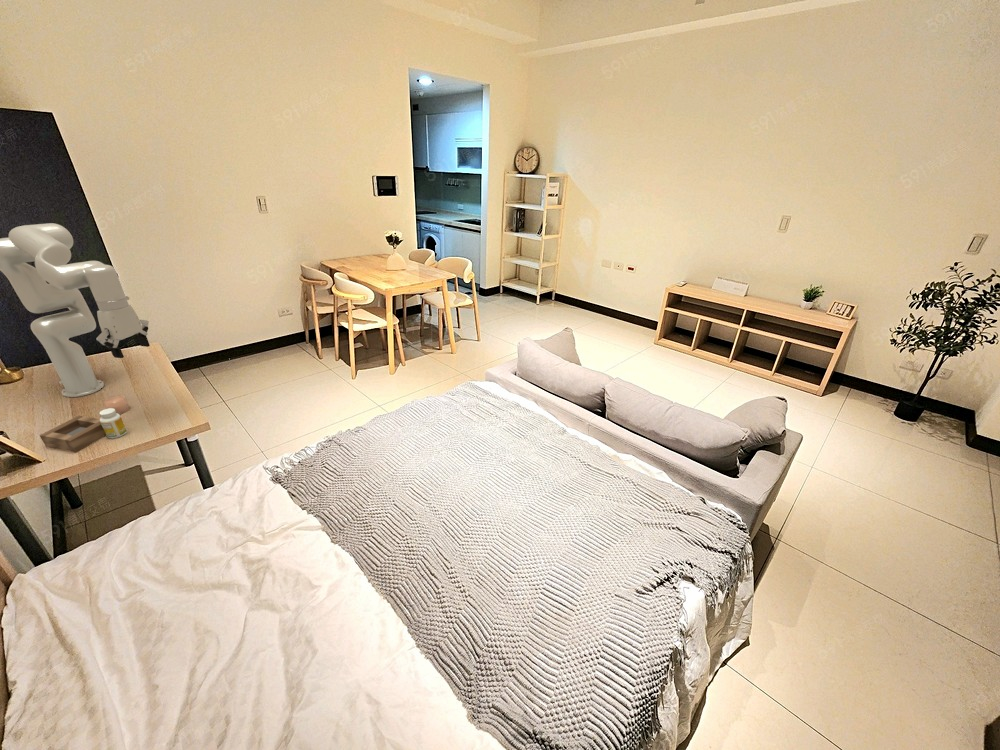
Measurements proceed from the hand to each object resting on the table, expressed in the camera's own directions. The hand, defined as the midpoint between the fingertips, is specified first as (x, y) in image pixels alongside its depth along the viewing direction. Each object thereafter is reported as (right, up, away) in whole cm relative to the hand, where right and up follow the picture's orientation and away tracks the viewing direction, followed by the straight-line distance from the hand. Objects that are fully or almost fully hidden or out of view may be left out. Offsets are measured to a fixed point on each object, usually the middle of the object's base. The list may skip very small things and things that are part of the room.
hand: (132, 351), depth 142 cm
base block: (-17, -30, -1) cm, 35 cm away
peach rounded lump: (-18, -22, +14) cm, 32 cm away
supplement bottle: (-7, -29, +2) cm, 30 cm away
